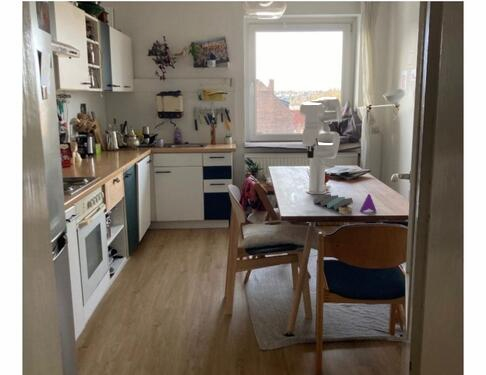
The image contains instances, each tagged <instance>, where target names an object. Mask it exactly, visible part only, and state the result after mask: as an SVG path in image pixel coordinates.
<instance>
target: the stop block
mask: <svg viewBox="0 0 486 375" xmlns="http://www.w3.org/2000/svg"><path fill="white" fill-rule="evenodd" d="M352 208H353V207H352V206H349V205H348V206H343V207H339V209H338V213H339V214H341V213H342V215H345V213H346V214H351V213H352V211H353V209H352Z"/></svg>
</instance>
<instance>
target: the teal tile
mask: <svg viewBox="0 0 486 375" xmlns="http://www.w3.org/2000/svg"><path fill="white" fill-rule="evenodd" d="M343 199H346V197H345V196H338V198H336V199H334V200H332V201H331V202H329V203H327V206H326V207H327V209H334V206H333V205H335V204H336V203H338V202H340V201H341V200H343Z"/></svg>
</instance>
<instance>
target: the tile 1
mask: <svg viewBox="0 0 486 375" xmlns="http://www.w3.org/2000/svg"><path fill="white" fill-rule="evenodd" d="M330 196H332V194H331V193H329V194H327V193H326V194H321V195H320V196H318V197H315V198H313V199H312V200H313V203H314V205H317V204H321V203H320V202H321V201H323V200H325V199H326V198H328V197H330ZM316 203H317V204H316Z"/></svg>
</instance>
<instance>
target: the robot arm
mask: <svg viewBox="0 0 486 375" xmlns="http://www.w3.org/2000/svg"><path fill="white" fill-rule="evenodd" d="M342 111H343V110H342V105H341V101H340V99H338V97H320V98H318V99H313V100H309V101H308V100H307V101H304V102H302V103H301V104H300V106H299V113H300V115H301V116H302V117H304V128H303V132H302V142H301V143H302V145H303V146H304V148H306V150H307V151H306V152H307V153H306V154H307V156H306V157H307V158H308V159H309V175H308V176H309V178H308V179H309V180H308V181H309V183H308V189H306V193H308V194H310V195H326V194H327V192H328V191H327V189H331V186H330V185H326V184H325V182H326V181H325V179H326V178H325V176H326V163H325V162H324V160H323V159H333V160H334V159H335V158H336V157H337V155H338V152H339V147H340V141H341V137H340V133H338V132H337V131H331V127H330V126H329V124H328V123H327V122H335V123H336V122H340V121H341V119H342V117H343V116H342V115H343V113H342Z"/></svg>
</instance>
